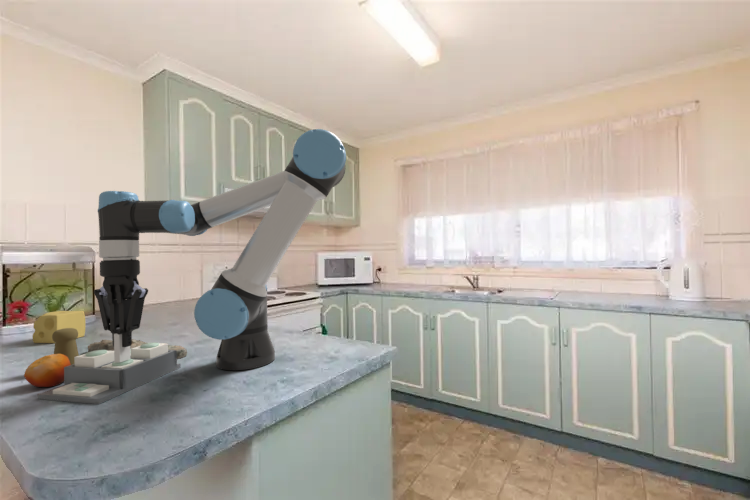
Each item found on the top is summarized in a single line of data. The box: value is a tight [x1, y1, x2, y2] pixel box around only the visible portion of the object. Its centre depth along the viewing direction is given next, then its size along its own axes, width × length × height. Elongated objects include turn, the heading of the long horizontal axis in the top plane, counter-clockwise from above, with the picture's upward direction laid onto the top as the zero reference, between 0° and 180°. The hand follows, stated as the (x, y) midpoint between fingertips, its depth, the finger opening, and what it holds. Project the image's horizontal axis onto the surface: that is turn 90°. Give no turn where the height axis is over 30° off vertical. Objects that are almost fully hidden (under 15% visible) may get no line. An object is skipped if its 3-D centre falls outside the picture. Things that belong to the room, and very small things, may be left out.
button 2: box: [101, 359, 143, 369], centre depth 81 cm, size 6×6×3 cm
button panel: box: [37, 348, 182, 405], centre depth 83 cm, size 16×22×5 cm
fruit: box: [23, 353, 71, 388], centre depth 83 cm, size 8×8×8 cm
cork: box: [52, 328, 80, 365], centre depth 93 cm, size 6×6×11 cm
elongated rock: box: [87, 338, 188, 360], centre depth 106 cm, size 35×5×10 cm
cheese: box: [32, 310, 86, 344], centre depth 127 cm, size 10×11×10 cm
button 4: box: [131, 342, 169, 359], centre depth 88 cm, size 6×6×3 cm
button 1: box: [74, 350, 114, 368], centre depth 82 cm, size 6×6×3 cm
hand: (122, 360), depth 81 cm, fingers closed
